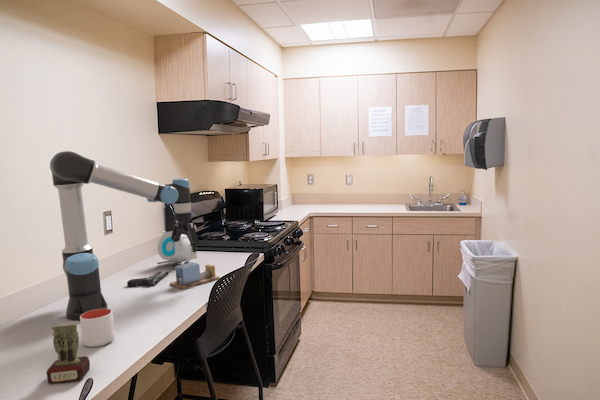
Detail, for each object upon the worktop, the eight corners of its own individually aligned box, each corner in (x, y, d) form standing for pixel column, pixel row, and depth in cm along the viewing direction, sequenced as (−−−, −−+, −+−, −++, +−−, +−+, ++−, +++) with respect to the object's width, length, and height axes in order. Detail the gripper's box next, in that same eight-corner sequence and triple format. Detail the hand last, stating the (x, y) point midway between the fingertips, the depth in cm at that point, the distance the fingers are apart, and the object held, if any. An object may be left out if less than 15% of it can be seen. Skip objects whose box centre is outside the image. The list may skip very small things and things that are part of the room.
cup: (78, 343, 158) (75, 314, 157) (107, 333, 165) (105, 306, 164) (89, 351, 151) (86, 321, 150) (120, 341, 158) (117, 312, 157)
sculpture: (46, 386, 130) (39, 334, 128) (56, 372, 138) (50, 323, 136) (83, 381, 131) (77, 330, 130) (91, 368, 139) (86, 319, 137)
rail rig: (183, 289, 213) (182, 276, 213) (169, 285, 222) (168, 272, 221) (219, 279, 227) (218, 266, 227) (205, 275, 236) (204, 263, 235)
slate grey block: (183, 285, 217) (182, 268, 216) (176, 282, 221) (175, 266, 220) (200, 280, 223) (199, 264, 222) (193, 278, 227) (191, 262, 226)
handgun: (143, 270, 242) (169, 268, 240) (144, 277, 242) (170, 275, 241) (126, 281, 222) (154, 279, 220) (127, 288, 222) (155, 286, 221)
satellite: (208, 229, 269) (172, 232, 278) (187, 222, 251) (150, 225, 261) (204, 269, 262) (168, 270, 272) (183, 264, 245) (145, 265, 254)
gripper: (205, 212, 212) (207, 258, 214) (175, 209, 229) (178, 252, 232) (190, 214, 207) (193, 262, 209) (161, 211, 224) (165, 254, 226)
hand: (185, 256), depth 220 cm, fingers open, 13 cm apart
